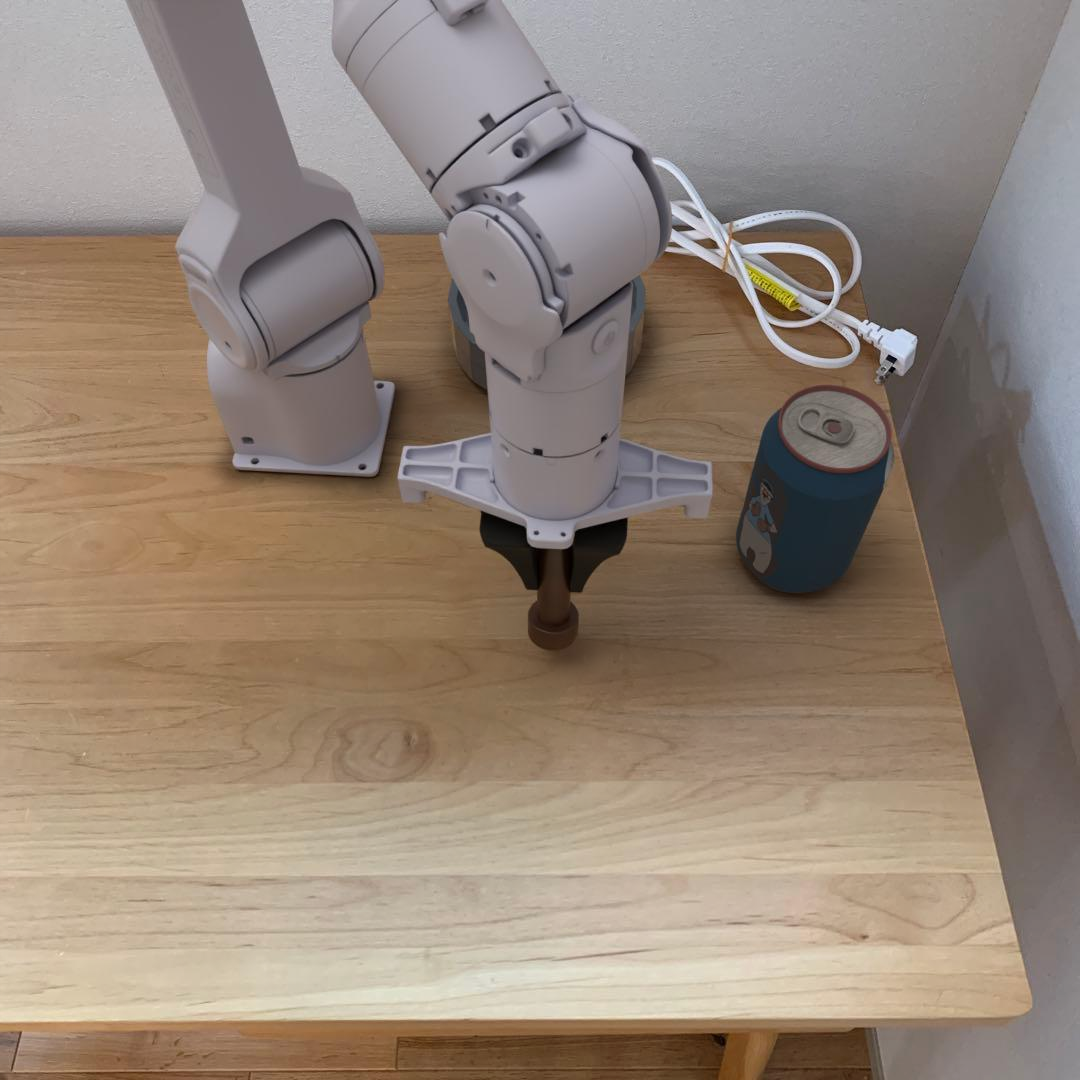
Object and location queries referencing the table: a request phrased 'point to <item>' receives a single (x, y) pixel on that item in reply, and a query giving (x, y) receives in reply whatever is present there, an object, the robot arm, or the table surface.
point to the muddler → (553, 602)
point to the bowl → (474, 357)
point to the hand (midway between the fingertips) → (554, 575)
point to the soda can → (814, 487)
